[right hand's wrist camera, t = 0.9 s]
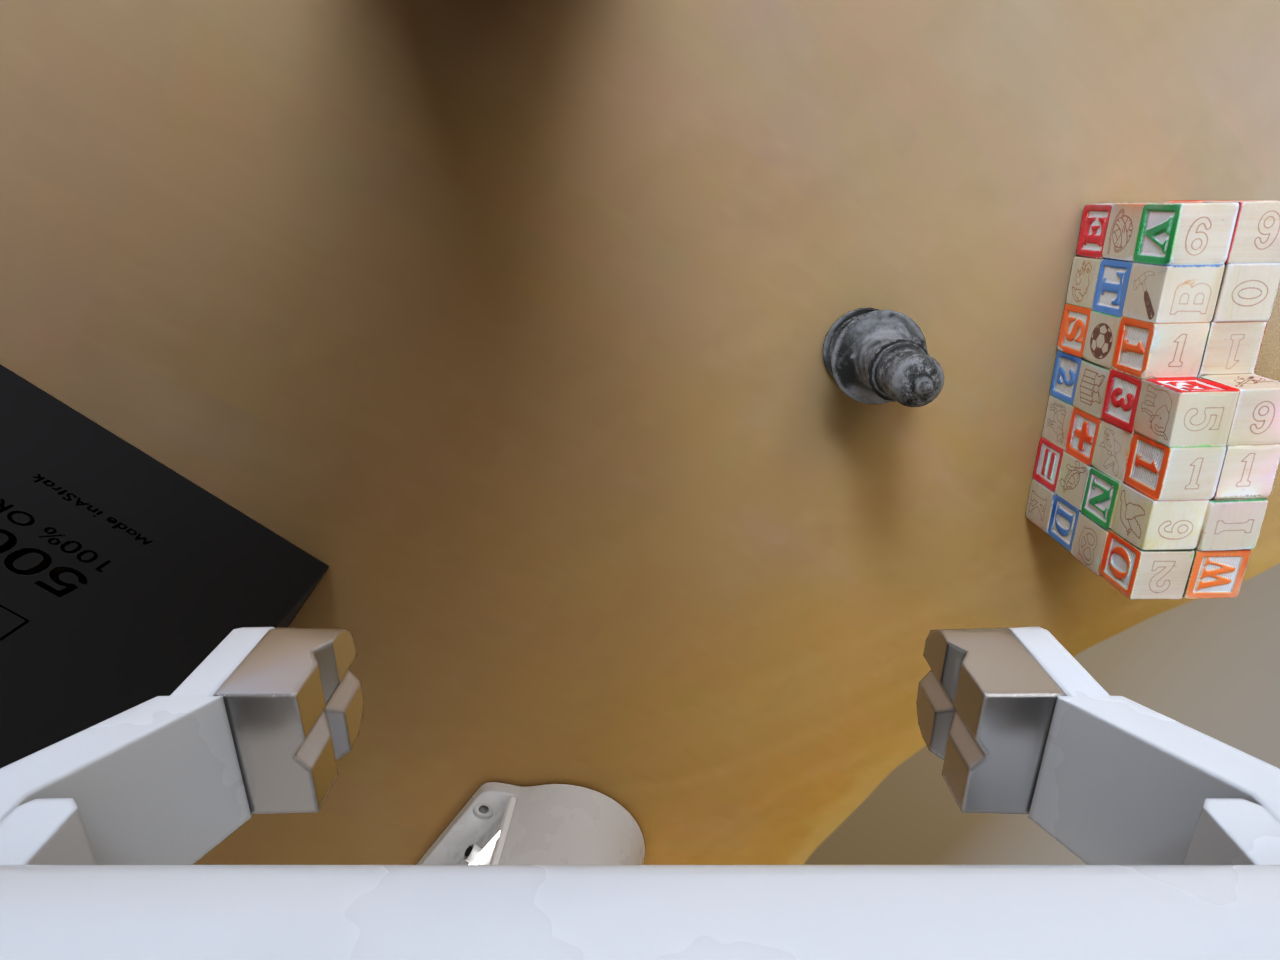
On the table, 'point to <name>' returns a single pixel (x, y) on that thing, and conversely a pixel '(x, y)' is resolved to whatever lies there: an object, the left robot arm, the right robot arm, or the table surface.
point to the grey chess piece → (881, 358)
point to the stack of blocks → (1163, 397)
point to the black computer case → (116, 573)
